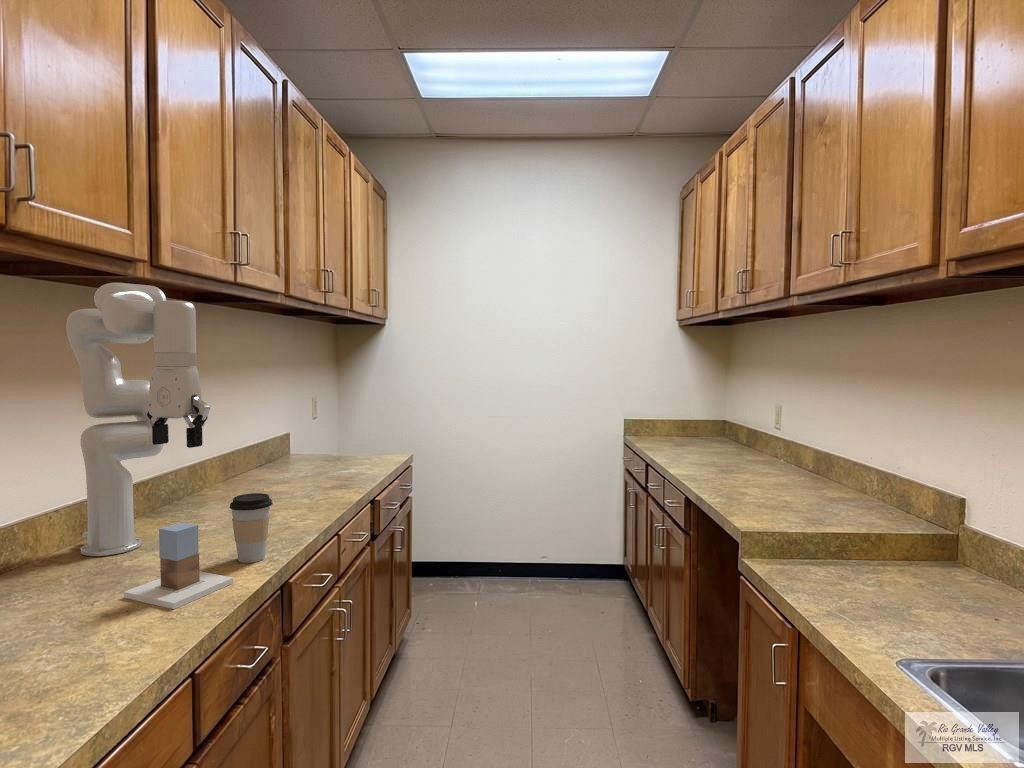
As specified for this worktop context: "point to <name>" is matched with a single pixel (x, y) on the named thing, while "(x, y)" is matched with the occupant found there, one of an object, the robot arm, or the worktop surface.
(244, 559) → the coffee cup
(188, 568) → the block walnut
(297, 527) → the worktop surface
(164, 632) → the worktop surface
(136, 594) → the plate
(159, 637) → the worktop surface
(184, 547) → the block blue
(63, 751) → the worktop surface
